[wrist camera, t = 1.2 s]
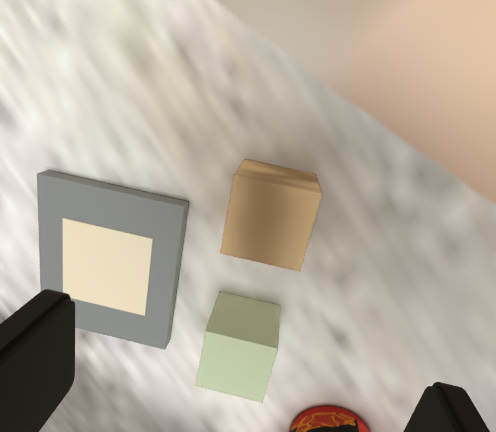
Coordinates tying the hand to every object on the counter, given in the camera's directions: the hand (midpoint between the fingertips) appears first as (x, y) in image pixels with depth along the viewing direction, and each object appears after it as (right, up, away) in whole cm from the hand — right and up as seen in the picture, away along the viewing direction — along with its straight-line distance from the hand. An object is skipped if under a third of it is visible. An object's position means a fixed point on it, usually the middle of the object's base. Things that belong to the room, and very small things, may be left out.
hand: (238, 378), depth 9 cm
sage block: (0, -5, +19) cm, 20 cm away
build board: (-11, +1, +19) cm, 22 cm away
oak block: (+2, +5, +15) cm, 17 cm away
